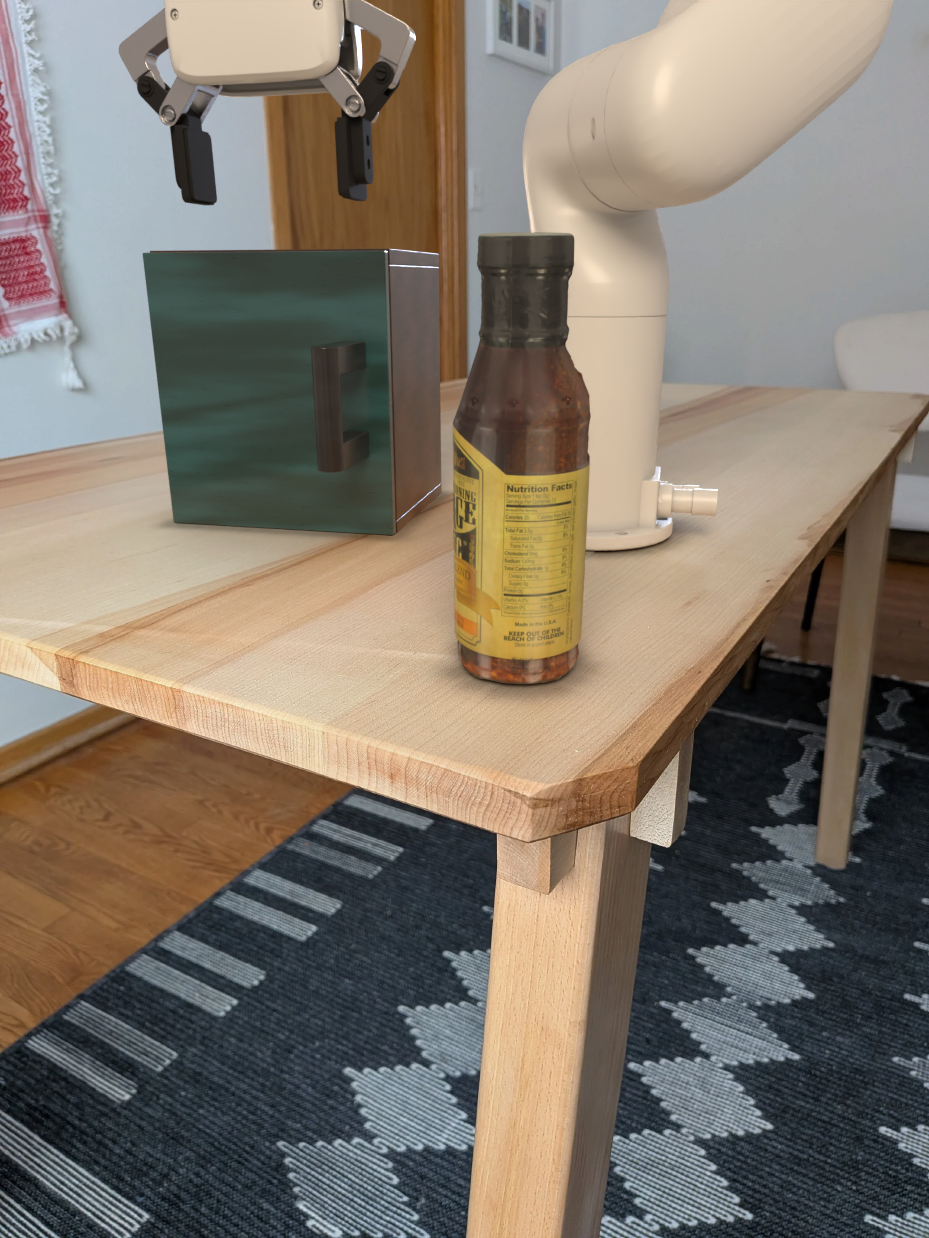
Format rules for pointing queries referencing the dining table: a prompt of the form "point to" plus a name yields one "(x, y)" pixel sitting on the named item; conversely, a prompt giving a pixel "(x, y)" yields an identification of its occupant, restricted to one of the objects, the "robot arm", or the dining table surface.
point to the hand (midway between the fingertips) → (275, 201)
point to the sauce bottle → (521, 469)
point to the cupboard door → (275, 387)
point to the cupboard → (410, 376)
